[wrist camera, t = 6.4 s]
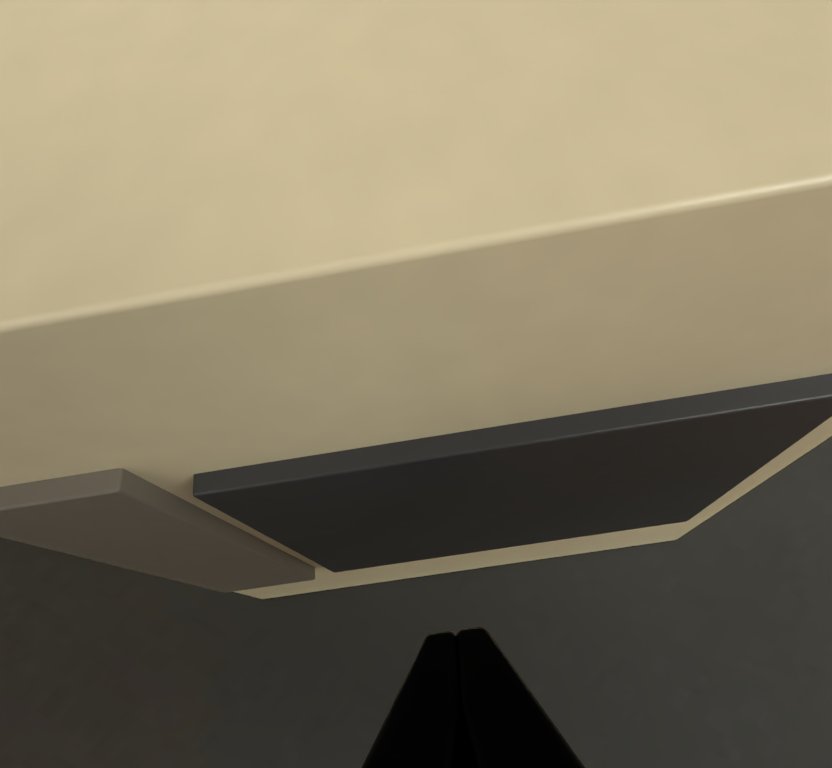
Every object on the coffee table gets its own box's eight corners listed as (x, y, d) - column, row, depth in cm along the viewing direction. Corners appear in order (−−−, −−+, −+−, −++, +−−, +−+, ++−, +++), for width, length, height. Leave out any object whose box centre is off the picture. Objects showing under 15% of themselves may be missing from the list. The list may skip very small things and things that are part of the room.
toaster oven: (680, 549, 15) (1407, 118, 3) (260, 609, 15) (-494, 445, 4) (567, 192, 20) (666, -456, 8) (260, 247, 21) (-41, -283, 9)
